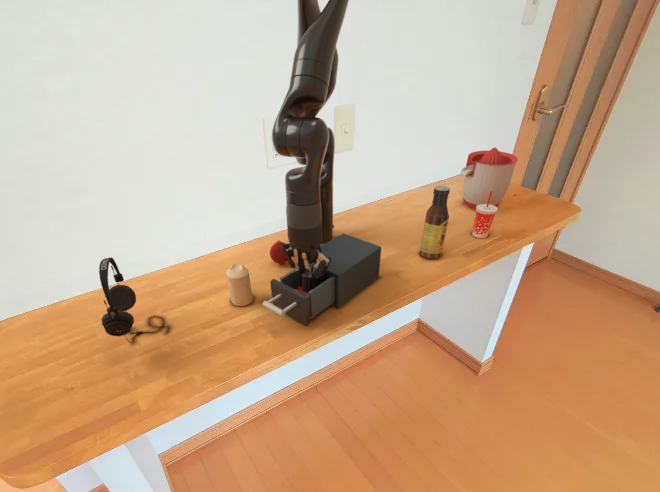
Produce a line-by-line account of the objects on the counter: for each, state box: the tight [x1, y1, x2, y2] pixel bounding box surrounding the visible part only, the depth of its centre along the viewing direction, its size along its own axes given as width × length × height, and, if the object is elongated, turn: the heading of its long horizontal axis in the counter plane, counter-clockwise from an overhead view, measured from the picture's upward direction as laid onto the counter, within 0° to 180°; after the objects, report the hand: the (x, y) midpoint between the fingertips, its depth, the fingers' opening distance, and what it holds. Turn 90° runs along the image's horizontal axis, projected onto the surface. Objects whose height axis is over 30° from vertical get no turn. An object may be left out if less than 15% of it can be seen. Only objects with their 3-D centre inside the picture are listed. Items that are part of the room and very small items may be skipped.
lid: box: [296, 271, 310, 296], centre depth 92 cm, size 6×6×5 cm
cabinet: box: [318, 232, 382, 308], centre depth 100 cm, size 18×13×10 cm
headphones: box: [98, 256, 170, 344], centre depth 83 cm, size 15×11×20 cm
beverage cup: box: [471, 191, 499, 239], centre depth 118 cm, size 6×6×14 cm
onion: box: [269, 238, 288, 265], centre depth 110 cm, size 6×6×8 cm
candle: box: [225, 263, 254, 307], centre depth 96 cm, size 6×6×10 cm
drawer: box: [262, 268, 336, 326], centre depth 92 cm, size 22×11×8 cm, turn 138°
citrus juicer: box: [460, 147, 519, 211], centre depth 134 cm, size 16×17×20 cm
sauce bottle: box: [420, 185, 451, 260], centre depth 107 cm, size 7×6×20 cm
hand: (307, 286), depth 92 cm, fingers closed on lid, 2 cm apart
